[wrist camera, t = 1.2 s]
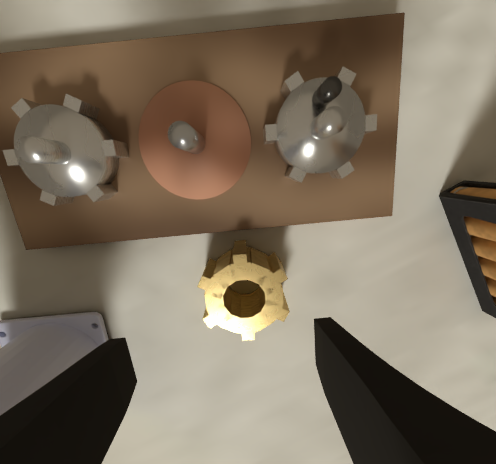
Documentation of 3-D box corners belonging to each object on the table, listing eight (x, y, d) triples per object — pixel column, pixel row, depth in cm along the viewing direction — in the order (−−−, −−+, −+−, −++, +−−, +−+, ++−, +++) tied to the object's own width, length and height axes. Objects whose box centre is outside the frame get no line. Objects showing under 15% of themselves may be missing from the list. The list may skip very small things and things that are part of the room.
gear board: (381, 212, 16) (393, 216, 15) (41, 244, 16) (24, 250, 15) (390, 26, 14) (405, 11, 12) (-17, 66, 14) (-43, 56, 13)
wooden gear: (283, 309, 18) (290, 336, 15) (212, 316, 18) (206, 343, 15) (278, 236, 17) (286, 250, 14) (201, 243, 17) (192, 259, 14)
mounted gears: (361, 175, 14) (394, 176, 11) (44, 205, 15) (-12, 214, 11) (364, 74, 13) (402, 43, 10) (14, 109, 13) (-59, 89, 10)
